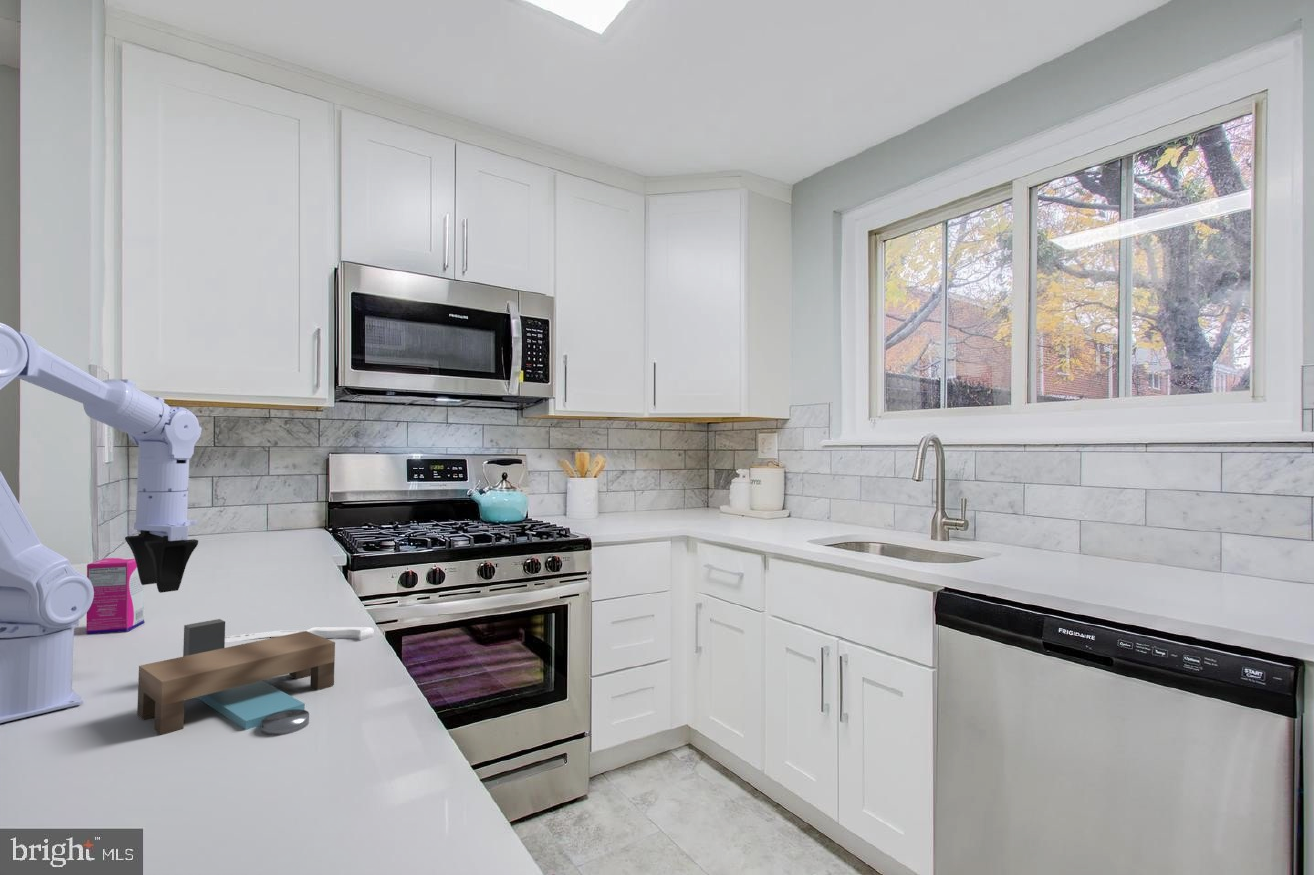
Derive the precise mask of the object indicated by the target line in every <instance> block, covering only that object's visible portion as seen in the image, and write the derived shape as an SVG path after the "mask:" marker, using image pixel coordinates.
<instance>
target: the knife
mask: <svg viewBox="0 0 1314 875" xmlns="http://www.w3.org/2000/svg"><path fill="white" fill-rule="evenodd" d="M303 631H304V630H288V629H287V630H286V629H282V630H272V631H264V632H262V631H261V632H254V633H245V634H244V633H243V634H233V635H227V636H226V635H225V643H234V642H235V641H236V642H243V640H244V641H251V640H250V639H252V640H257V639H258V640H259V638H261V639H270V637H271V638H275V637H279V636H284V635H289V634H294V633H299V632H303ZM305 631H307V632H310V633H313V634H315V635H318V636H320V637H323V638H339V639H356V638H358V639H357V640H359V641H364V640H367V639H370V638H372V637H374V634H375V630H374V628H373V627H372V626H371V627H370V626H365V627H364V626H334V627H333V626H330V627H329V626H326V627H325V626H324V627H323V626H322V627H321V626H319V627H318V626H314V627H311V628H308V629H307V630H305ZM345 637H346V638H345ZM347 637H348V638H347ZM349 637H350V638H349ZM236 642H235V643H236Z"/></svg>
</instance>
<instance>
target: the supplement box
mask: <svg viewBox="0 0 1314 875" xmlns="http://www.w3.org/2000/svg"><path fill="white" fill-rule="evenodd" d="M86 577H87V578H88V579H89V580H90V581H91V583H92V585H93V589H94V597H93V601H92V604H91V606H90V608H89V610H88V611H87V613H86V626H85V627H86V629H85V630H86V631H85V632H86V633H85V634H87V635H94V634H95V635H97V634H99V635H100V634H110V633H112V634H113V633H115V634H116V633H128V632H130V631H132V630H134V629H135V628H137V627H139V626H141V625H143V624H144V623H145V585H142V584H141V582H140V578H139V574H138V569H137V565H136V561H135V558H134V556H129V557H127V556H126V557H107V558H102V559H100V560H97V561H94V562H90V563H87V564H86Z"/></svg>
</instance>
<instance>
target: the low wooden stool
mask: <svg viewBox="0 0 1314 875" xmlns="http://www.w3.org/2000/svg"><path fill="white" fill-rule="evenodd" d="M302 631H303V632H299V633H294V634H289V635H284V636H279V637H271V638H264V639H260V640H256V641H250V642H247V643H241V644H238V645H232V646H228V647H224V648H222V649H217V650H212V651H207V652H203V653H198V654H193V655H188V656H183V655H182V656H180V657H179V656H178V657H175V658H170V659H166V660H160V661H155V662H151V663H146V664H141V665H138V682H137V683H138V684H137V685H138V686H137V711H136V713H137V714H136V715H137V716H138V717H139V719H141V720H143V721H144V720H146V719H147V720H148V719H150V718H154V722H153V723H154V726H153V729H154V731H155V732H156V733H158V735H165V734H167V733H168V734H169V733H172V732H176V731H179V730H182V729H184V725H185V723H184V722H185V721H184V720H185V701H186V700H191V699H194V698H197V697H199V696H203V695H207V694H211V693H214V692H218V691H222V690H226V689H230V688H234V687H238V686H242V685H246V684H250V683H254V682H258V681H261V680H262V681H265V680H268V679H272V678H276V677H280V676H284V675H288V676H289V677H291V678H293V679H294V680H299V679H302V678H305V677H309V676H310V681H309V682H310V685H309V686H310V687H311V688H313V689H314V690H317V689H320V690H323V689H326V687H327V688H329V687H330V688H331V687H333V685H334V686H335V664H336V663H335V660H336V659H335V658H336V642H335V641H334V640H331V639H326V638H323V637H320V636H318V635H315V634H313V633H310V632H307V631H306V630H302ZM298 678H299V679H298Z"/></svg>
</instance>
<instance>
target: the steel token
mask: <svg viewBox="0 0 1314 875" xmlns="http://www.w3.org/2000/svg"><path fill="white" fill-rule="evenodd" d="M309 723H310V712H309V711H308V710H300V709H293V710H285V711H280V712H276V713H273V714H271V715H268V716H267V717H265V718H264V719H263V720H262V721H261V726H260V731H261V733H262V734H263V735H266V736H282V735H284V736H285V735H289V734H292V733H296V732H299V731H302V729H304V728H306V727H307V726H308V725H309Z"/></svg>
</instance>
